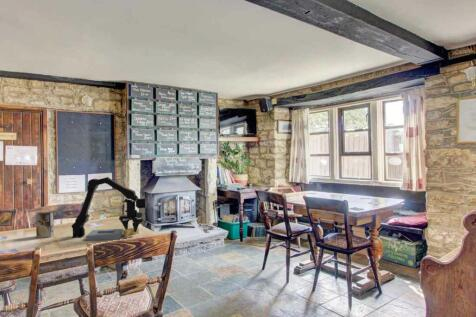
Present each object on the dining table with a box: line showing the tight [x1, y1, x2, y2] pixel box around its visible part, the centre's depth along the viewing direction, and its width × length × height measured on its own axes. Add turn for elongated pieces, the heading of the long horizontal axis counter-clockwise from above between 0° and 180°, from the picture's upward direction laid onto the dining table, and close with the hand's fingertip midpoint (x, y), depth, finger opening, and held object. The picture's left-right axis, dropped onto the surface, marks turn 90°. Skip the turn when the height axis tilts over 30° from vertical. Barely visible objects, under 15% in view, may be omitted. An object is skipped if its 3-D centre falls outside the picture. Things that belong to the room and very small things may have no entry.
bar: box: [122, 227, 140, 237], centre depth 219 cm, size 9×4×4 cm, turn 141°
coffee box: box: [35, 211, 55, 239], centre depth 215 cm, size 9×6×16 cm
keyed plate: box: [86, 228, 124, 241], centre depth 214 cm, size 20×16×3 cm
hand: (131, 231), depth 219 cm, fingers open, 9 cm apart
